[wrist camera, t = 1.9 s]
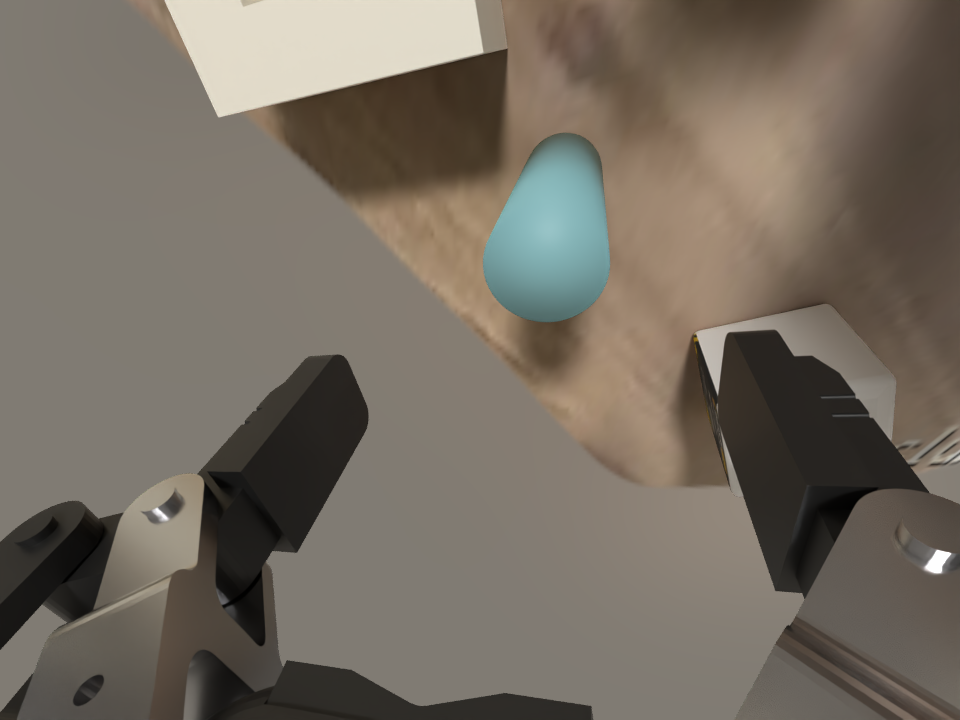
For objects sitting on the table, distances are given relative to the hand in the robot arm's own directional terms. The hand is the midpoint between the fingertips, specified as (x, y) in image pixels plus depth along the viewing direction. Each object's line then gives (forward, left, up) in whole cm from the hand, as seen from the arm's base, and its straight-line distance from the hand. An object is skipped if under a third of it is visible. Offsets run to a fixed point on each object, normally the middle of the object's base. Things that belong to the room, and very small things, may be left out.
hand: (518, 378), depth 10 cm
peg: (0, 0, -18) cm, 18 cm away
